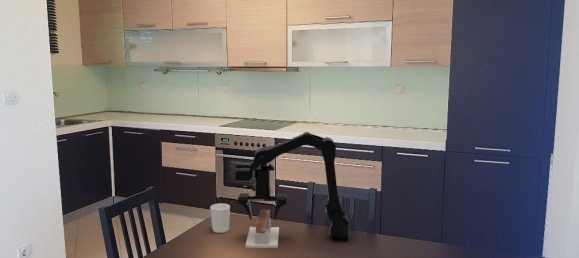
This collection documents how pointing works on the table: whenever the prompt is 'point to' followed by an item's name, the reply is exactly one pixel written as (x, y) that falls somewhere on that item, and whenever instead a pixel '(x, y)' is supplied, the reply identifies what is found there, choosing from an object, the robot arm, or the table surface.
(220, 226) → the white cup
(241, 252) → the table surface
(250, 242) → the display stand
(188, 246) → the table surface
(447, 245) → the table surface
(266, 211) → the terracotta bar
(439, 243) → the table surface
